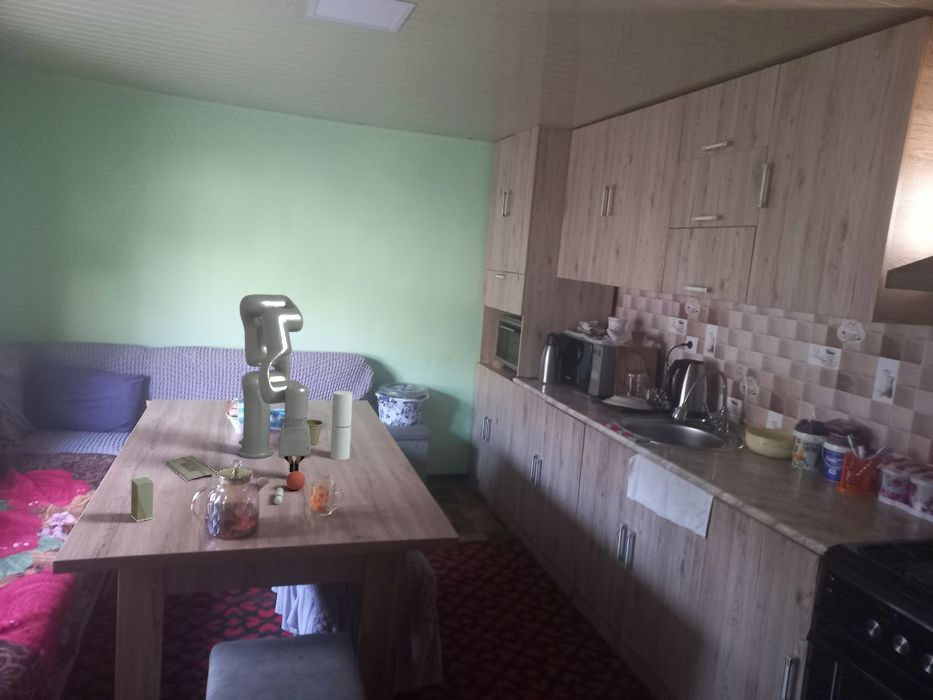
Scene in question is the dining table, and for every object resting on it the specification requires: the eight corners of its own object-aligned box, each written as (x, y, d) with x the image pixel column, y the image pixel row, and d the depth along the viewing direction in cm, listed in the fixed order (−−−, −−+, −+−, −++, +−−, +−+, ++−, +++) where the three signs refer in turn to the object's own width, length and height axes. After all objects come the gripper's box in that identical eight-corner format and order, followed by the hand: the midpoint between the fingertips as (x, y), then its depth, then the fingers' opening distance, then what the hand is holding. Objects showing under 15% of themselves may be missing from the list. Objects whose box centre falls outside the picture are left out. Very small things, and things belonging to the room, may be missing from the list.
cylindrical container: (345, 461, 245) (348, 395, 242) (327, 458, 246) (330, 393, 243) (352, 455, 252) (355, 392, 249) (334, 453, 253) (337, 390, 250)
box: (130, 517, 183) (130, 479, 182) (146, 513, 186) (146, 476, 185) (137, 523, 180) (137, 484, 178) (153, 519, 183) (153, 481, 181)
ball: (282, 480, 208) (281, 482, 214) (296, 492, 208) (295, 494, 214) (296, 466, 211) (294, 468, 216) (310, 478, 211) (308, 481, 217)
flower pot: (299, 447, 258) (299, 425, 257) (297, 440, 267) (298, 419, 266) (323, 446, 261) (324, 425, 260) (320, 439, 270) (321, 419, 269)
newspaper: (223, 477, 221) (223, 470, 221) (186, 487, 213) (186, 480, 213) (198, 458, 238) (198, 452, 237) (163, 467, 230) (162, 460, 229)
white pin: (285, 488, 207) (283, 498, 199) (282, 496, 207) (280, 506, 199) (277, 486, 207) (275, 496, 198) (274, 493, 207) (272, 503, 199)
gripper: (272, 424, 215) (270, 478, 217) (318, 424, 219) (316, 477, 221) (272, 418, 222) (271, 471, 224) (317, 419, 226) (315, 470, 228)
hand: (293, 474), depth 223 cm, fingers closed
